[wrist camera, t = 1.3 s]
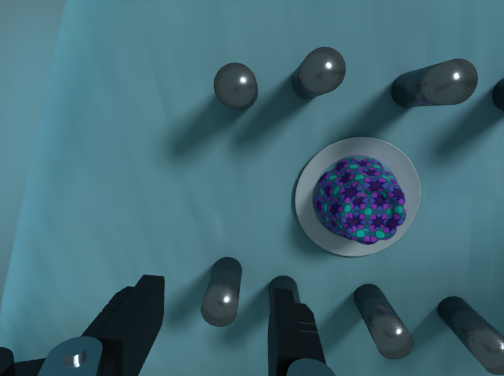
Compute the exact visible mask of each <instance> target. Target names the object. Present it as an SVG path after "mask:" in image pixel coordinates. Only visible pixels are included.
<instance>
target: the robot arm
mask: <svg viewBox="0 0 504 376" xmlns="http://www.w3.org/2000/svg"><path fill="white" fill-rule="evenodd" d="M164 289H165V280H164V277H163V276H155V275H143V276H142V277H141V279H140V280H139V281H138V283H137V284H136V285H135V287H130V286H127V287H126V288H124V289H122V290H121V291H119V292H117V293H116V294H115V295H114V296H113V297H112V299H111V300H110V301H109V302H108V304H107V305H106V306H105V307H104V308H103V310H102V312H100V313H99V315H98V316H97V317H96V318H95V319H94V321H93V322H92V323H91V324H90V326H89V327H88V328H87V329H86V330H85V332H84V333H83V334H82V335H81V337H76V338H72V339H69V340H66V341H64V342H62V343H60V344H59V345H57V346H56V347H55V348H53V349H52V350H51V351H50V353H49V354H48V355H47V357H46V358H43V359H37V360H30V361H23V362H17V363H14V356H13V353H12V351H11V350H9V349H7V348H4V347H0V376H138V375H139V373H140V370H141V368H142V366H143V364H144V362H145V360H146V358H147V356H148V354H149V352H150V349H151V347H152V345H153V343H154V341H155V339H156V337H157V335H158V333H159V331H160V328H161V325H162V321H163V316H164ZM268 374H269V376H336V375H335V374H334V372H333V371H332V370H331V369H330V368H329V367H328V366H327V365H326V362H325V358H324V354H323V350H322V346H321V342H320V338H319V335H318V331H317V327H316V325H315V319H314V315H313V312H312V311H311V310H310V309H309V308H308V306H307V305H306V304H302V303H294V297H293V291H292V289H287V288H276V287H273V290H272V298H271V306H270V315H269V324H268Z"/></svg>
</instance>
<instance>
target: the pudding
mask: <svg viewBox="0 0 504 376" xmlns="http://www.w3.org/2000/svg"><path fill="white" fill-rule="evenodd" d="M356 155H362V156H369V157H372V158H375V159H377V160H379V161H381V162H383V163H384V164H385V165H387V166H388V167H389V168H390V170H391V171H392V172H393V174H394V175H395V177H396V179H397V181H396V179H395V177H394V176H393V175H392V174H391V173H390V172H386V171H385V170H384V169H383V167H382V165H381V164H380V163H379V162H378V161H376V160H375V159H370V158H366V159H364V160H362V161H359V162H358V161H356V160H355V159H353V158H348V159H343V160H342V161H340V162H338V163H337V165H336V167H335V169H334V170H333V171H328V172H325V173H324V174H323V175H322V176H321V177H320V180H319V182H318V187H319V190H320V192H319V193H318V194H317V196H316V197H315V200H314V206H315V209H316V211H317V212H318V213H320V214H322V215H323V224H324V225H325V226H326V228H328V229H329V230H331V231H333V232H335V233H337V234H339V235H341V236H343V237H340V236H337V235H335V234H333V233H331V232H330V231H328V230H327V229H325V228H324V227H323V226H322V225H321V223H320V222H319V220H318V219H317V217H316V215H315V212H314V209H313V202H312V197H313V190H314V187H315V184H316V182H317V180H318V178H319V176H320V175H321V174H322V173H323V171H324V170H325V169H326V168H327V167H329V166H330V165H331V164H333V163H334V162H336V161H338V160H340V159H342V158H345V157H349V156H356ZM420 194H421V189H420V182H419V178H418V175H417V172H416V169H415V167H414V166H413V164H412V162H411V161H410V159H409V158H408V157H407V156H406V155H405V154H404V153H403V152H402V151H401V150H399V149H398V148H397V147H395V146H394V145H392V144H390V143H388V142H386V141H383V140H380V139H376V138H370V137H354V138H348V139H344V140H340V141H338V142H336V143H333V144H331V145H329V146H328V147H326V148H325V149H323V150H322V151H320V152H319V153H318V154H317V155H316V156H315V157H314V158H312V159H311V161H310V162H309V163H308V165H307V166H306V167H305V169H304V171H303V172H302V174H301V176H300V178H299V182H298V185H297V188H296V195H295V207H296V213H297V217H298V220H299V222H300V224H301V227H302V228H303V230H304V231H305V233H306V234H307V236H308V237H309V238H310V239H311V240H312V241H313V242H314V243H315V244H317V245H318V246H320V247H321V248H323V249H325V250H327V251H329V252H331V253H334V254H338V255H342V256H351V257H354V256H365V255H370V254H374V253H376V252H379V251H381V250H384V249H385V248H387V247H389V246H391V245H392V244H394V243H395V242H396V241H397V240H398V239H400V238H401V237H402V236H403V235H404V233H405V232H406V231H407V230H408V229H409V227H410V226H411V224H412V222H413V221H414V219H415V216H416V214H417V212H418V208H419V203H420ZM344 237H345V238H344Z"/></svg>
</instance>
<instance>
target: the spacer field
mask: <svg viewBox="0 0 504 376" xmlns="http://www.w3.org/2000/svg"><path fill="white" fill-rule="evenodd" d="M345 72H346V66H345V61H344V59H343V57H342V55H341V54H340V53H339V52H338V51H336V50H335V49H333V48H330V47H320V48H317V49H315V50H313V51H312V52H310V53H309V54H308V55H307V57H306V58H305V59H304V61H303V62H302V63H301V65H300V66H299V67H298V69H297V70H296V71H295V73H294V75H293V79H292V85H293V88H294V90H295V92H296V93H297V94H298V95H299V96H301V97H303V98H313V97H316V96H319V95H322V94H325V93H328V92H331V91H333V90H335V89H336V88H337V87H338V86H339V85H340V84H341V83H342V81H343V79H344V76H345ZM477 81H478V75H477V71H476V69H475V67H474V66H473V65H472V64H471V63H470V62H469V61H467V60H464V59H453V60H449V61H446V62H442V63H439V64H435V65H432V66H428V67H425V68H421V69H418V70H414V71H411V72H408V73H404V74H402V75H400V76H399V77H398V78H397V79H396V80H395V82H394V83H393V86H392V91H391V92H392V98H393V100H394V101H395V102H396V103H397V104H398V105H400V106H402V107H419V106H438V105H455V104H459V103H462V102H464V101H465V100H467V99H468V98H469V97H470V96H471V95H472V94H473V92H474V90H475V88H476V86H477ZM214 90H215V94H216V96H217V98H218V99H219V100H220V101H221V102H222V103H223V104H225V105H226V106H229V107H233V108H237V109H246V108H249V107H251V106H252V105H253V104H254V103H255V101H256V99H257V96H258V88H257V83H256V78H255V76H254V74H253V72H252V71H251V70H250V69H249V68H248V67H247V66H245V65H243V64H241V63H229V64H227V65H225V66H223V67H222V68H221V69H220V70H219V71H218V72H217V74H216V76H215V79H214ZM493 101H494V103H495V105H496V106H497V107H498V108H500V109H502V110H504V78H503V79H502V80H500V81H499V82H498V84H497V85H496V86H495V88H494V91H493ZM241 276H242V267H241V264H240V263H239V262H238V261H237V260H236V259H234V258H231V257H224V258H221V259H219V260H218V261H217V262H216V263H215V265H214V269H213V272H212V275H211V278H210V281H209V284H208V288H207V291H206V294H205V297H204V300H203V303H202V307H201V314H202V316H203V318H204V320H205V321H206V322H207V323H209V324H211V325H213V326H217V327H223V326H227V325H229V324H230V323H232V322H233V321H234V319H235V317H236V315H237V307H238V300H239V292H240V284H241ZM273 287H276V288H287V289H292V291H293V297H294V303H300V298H299V293H298V288H297V284H296V282H295V281H294V280H293V279H292V278H291V277H288V276H278V277H276V278H274V279H273V280H272V281H271V283H270V285H269V301H270V306H271V298H272V290H273ZM354 302H355V304H356V306H357V308H358V310H359V312H360V314H361V316H362V318H363V320H364V322H365V324H366V326H367V328H368V330H369V332H370V334H371V336H372V338H373V340H374V342H375V344H376V346H377V348H378V350H379V352H380V354H381V355H383V356H384V357H386V358H389V359H400V358H403V357H405V356H406V355H408V354H409V353H410V352H411V350H412V348H413V345H414V341H413V337H412V336H411V334H410V333H409V331H408V330H407V328H406V327H405V325H404V324H403V322H402V321H401V319H400V318H399V316H398V315H397V313H396V312H395V310H394V309H393V307H392V306H391V304H390V303H389V301H388V300H387V299H386V297H385V296H384V294H383V293H382V291H381V290H380V288H379V287H377V286H376V285H373V284H365V285H362V286H360V287H359V288H358V289H357V290H356V291H355V293H354ZM438 315H439V316H440V318H441V319H442V320H443V321H444V322H445V323H446V324H447V326H448V327H449V328H450V329H451V330H452V331H453V332H454V334H455V335H456V336H457V337H458V338H459V339H460V340H461V342H462V343H463V344H464V345H465V346H466V347H467V348H468V350H469V351H470V352H471V353H472V354H473V355H474V356H475V358H476V359H477V360H478V361H479V362H480V363H481V364H482V366H483V367H484V368H485V369H486V370H487V371H488V372H490V373H492V374H496V375H502V374H504V337H503V336H502V335H501V334H500V333H499V332H498V331H497V330H496V329H494V328H493V327H492V326H491V325H490V324H489V323H488V322H487V321H486V320H485V319H484V318H483V317H481V316H480V315H479V314H478V313H477V312H476V311H475V310H474V309H473V308H472V307H471V306H470V305H468V304H467V303H466V302H465V301H464V300H463V299H462V298H460V297H454V296H453V297H448V298H446V299H444V300H443V301H442V302H441V303H440V304H439V306H438Z"/></svg>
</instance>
